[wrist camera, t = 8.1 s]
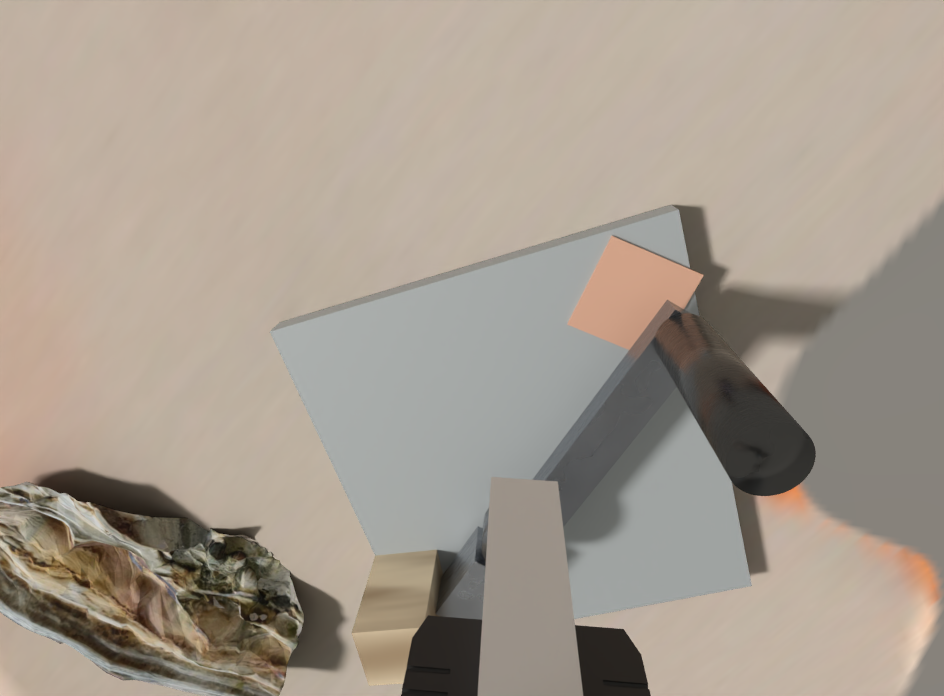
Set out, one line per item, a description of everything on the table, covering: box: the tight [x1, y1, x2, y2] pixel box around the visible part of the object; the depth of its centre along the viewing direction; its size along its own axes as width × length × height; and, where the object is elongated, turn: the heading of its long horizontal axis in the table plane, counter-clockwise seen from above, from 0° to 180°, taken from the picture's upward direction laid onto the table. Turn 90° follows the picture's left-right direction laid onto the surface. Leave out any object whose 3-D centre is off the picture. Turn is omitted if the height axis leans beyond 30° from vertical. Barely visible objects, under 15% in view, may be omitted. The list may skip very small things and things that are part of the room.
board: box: [270, 205, 752, 619], centre depth 35 cm, size 24×22×2 cm
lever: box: [436, 299, 815, 620], centre depth 28 cm, size 22×4×13 cm, turn 150°
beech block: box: [352, 550, 443, 686], centre depth 35 cm, size 4×4×6 cm
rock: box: [0, 482, 304, 696], centre depth 39 cm, size 23×7×15 cm
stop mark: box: [567, 236, 704, 350], centre depth 30 cm, size 5×5×1 cm
